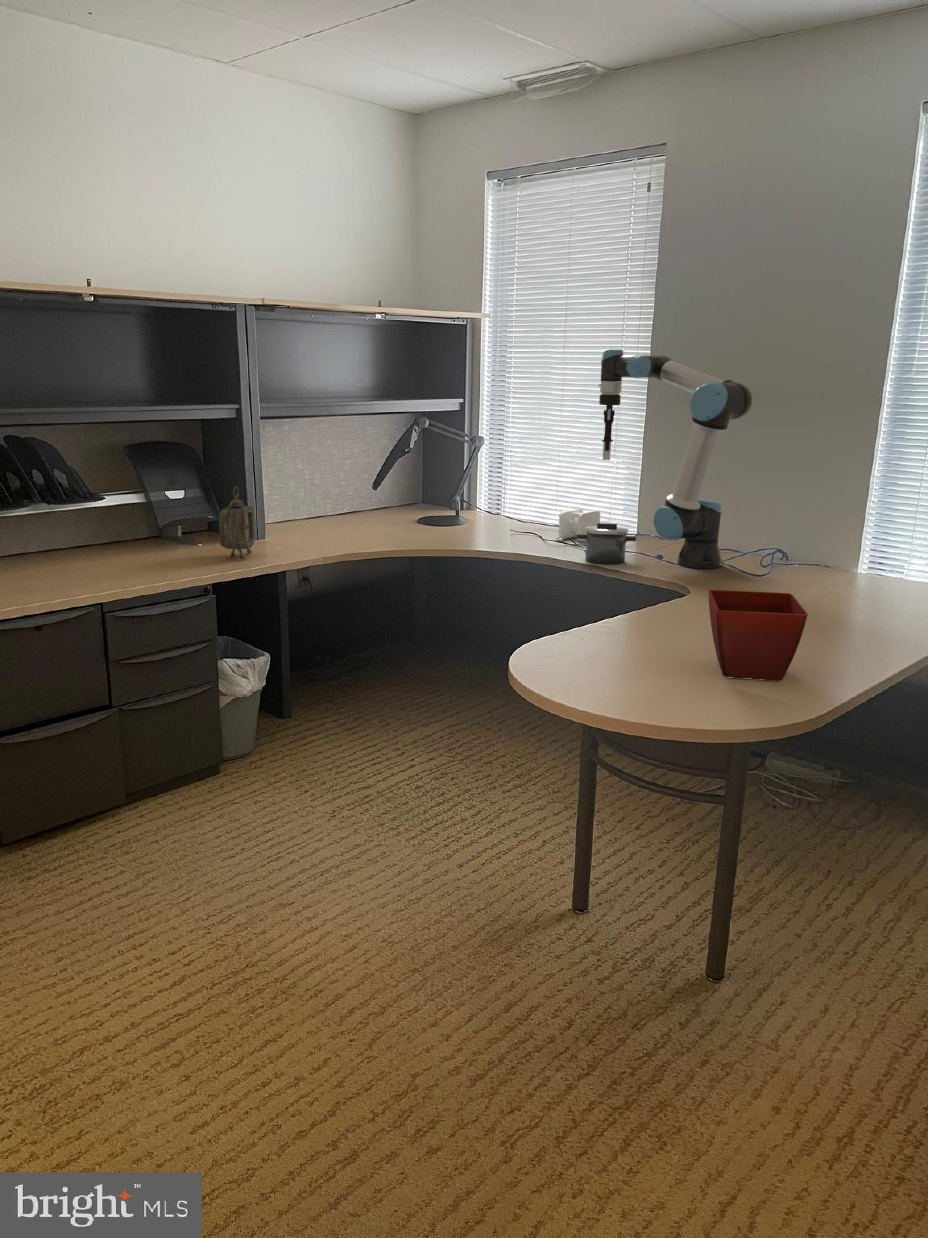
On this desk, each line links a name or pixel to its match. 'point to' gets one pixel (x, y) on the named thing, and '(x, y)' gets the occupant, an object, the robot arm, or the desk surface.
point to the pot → (605, 548)
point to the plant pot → (755, 632)
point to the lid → (606, 529)
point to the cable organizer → (576, 522)
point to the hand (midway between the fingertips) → (606, 459)
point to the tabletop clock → (237, 526)
